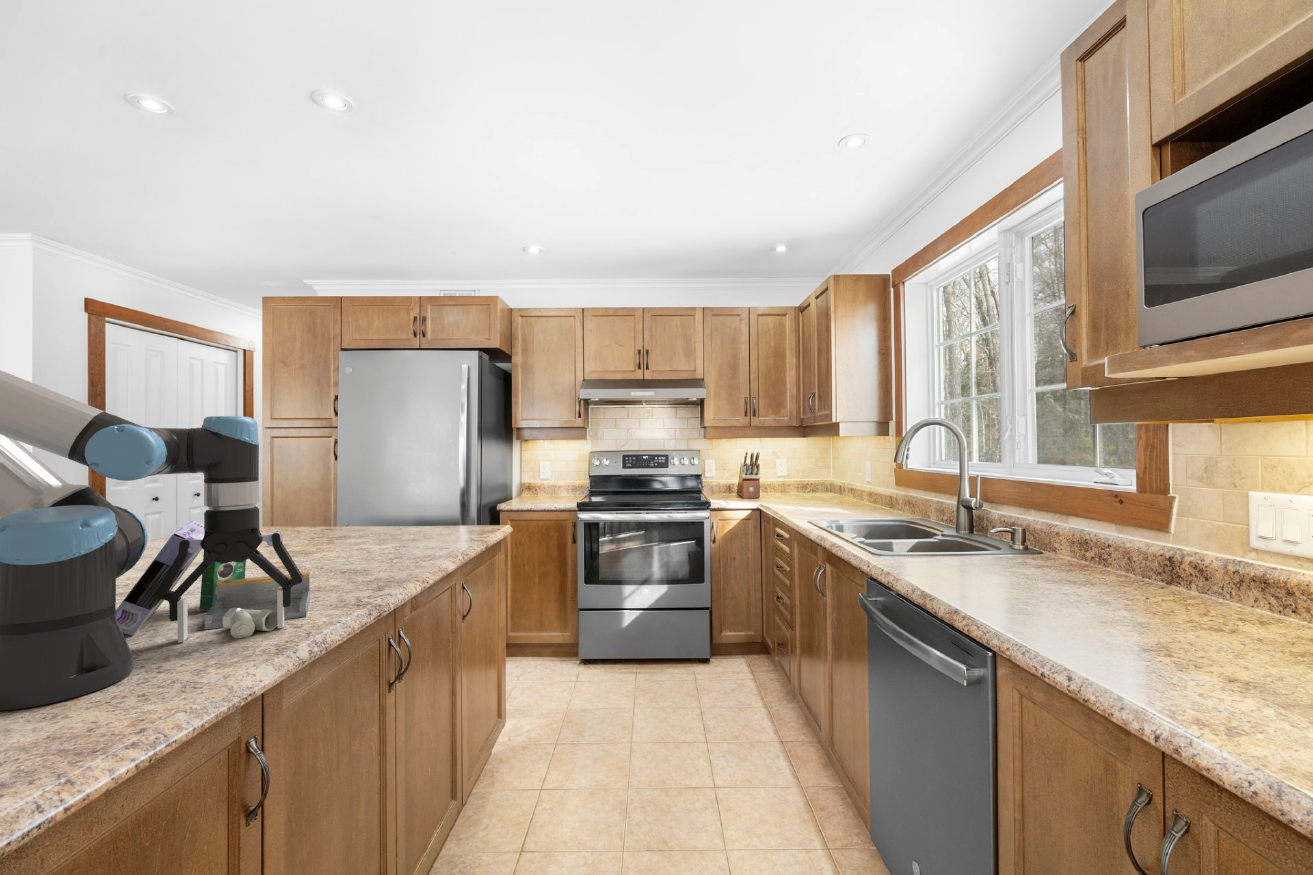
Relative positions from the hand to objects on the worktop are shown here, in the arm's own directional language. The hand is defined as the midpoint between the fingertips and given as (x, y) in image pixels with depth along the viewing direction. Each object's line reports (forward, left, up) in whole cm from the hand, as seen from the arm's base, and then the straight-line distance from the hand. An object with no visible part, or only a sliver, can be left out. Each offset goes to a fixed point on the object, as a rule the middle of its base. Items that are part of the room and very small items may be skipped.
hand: (233, 632), depth 97 cm
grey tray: (+11, -3, 0) cm, 11 cm away
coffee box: (+22, +5, 0) cm, 23 cm away
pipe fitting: (0, -1, -1) cm, 1 cm away
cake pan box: (+15, +17, +1) cm, 23 cm away
